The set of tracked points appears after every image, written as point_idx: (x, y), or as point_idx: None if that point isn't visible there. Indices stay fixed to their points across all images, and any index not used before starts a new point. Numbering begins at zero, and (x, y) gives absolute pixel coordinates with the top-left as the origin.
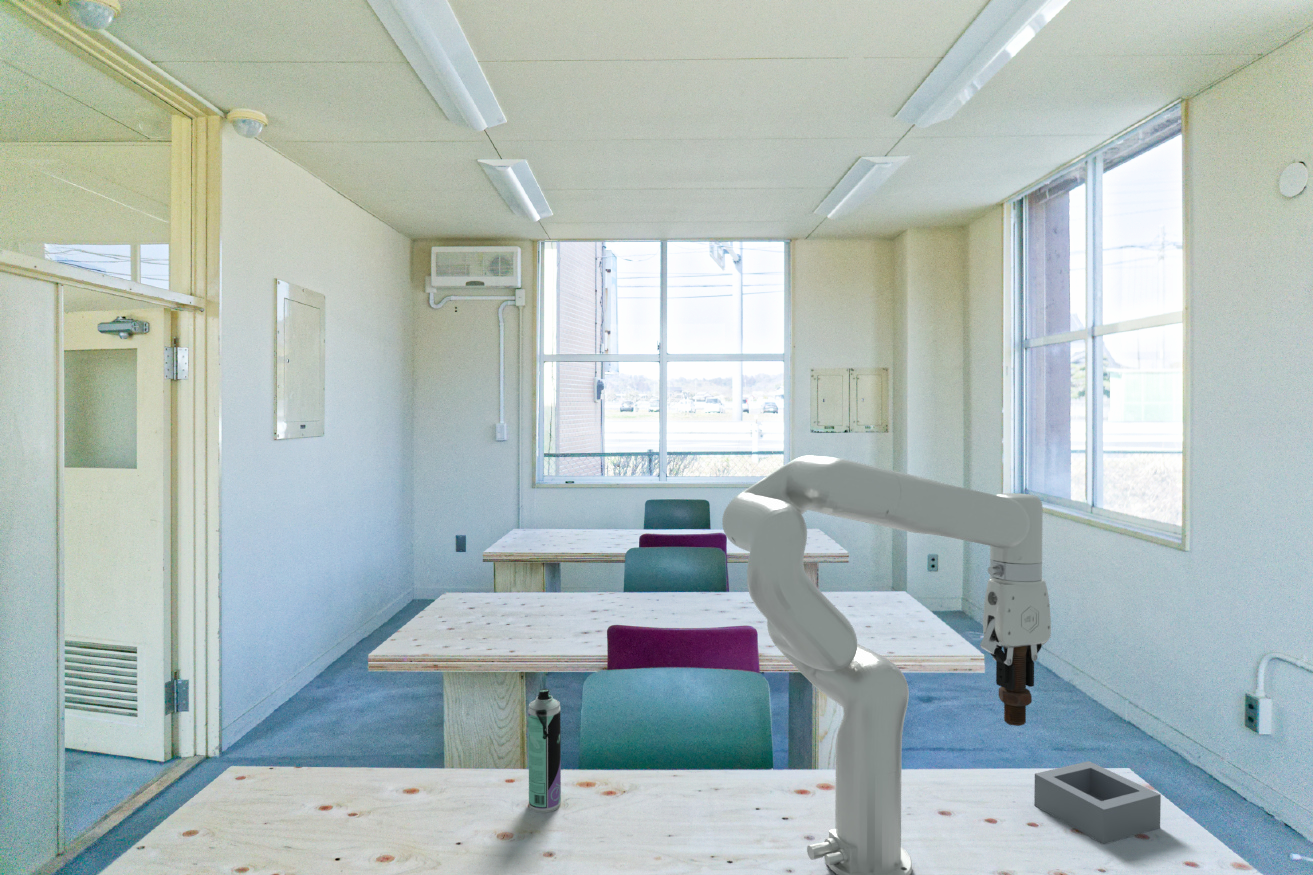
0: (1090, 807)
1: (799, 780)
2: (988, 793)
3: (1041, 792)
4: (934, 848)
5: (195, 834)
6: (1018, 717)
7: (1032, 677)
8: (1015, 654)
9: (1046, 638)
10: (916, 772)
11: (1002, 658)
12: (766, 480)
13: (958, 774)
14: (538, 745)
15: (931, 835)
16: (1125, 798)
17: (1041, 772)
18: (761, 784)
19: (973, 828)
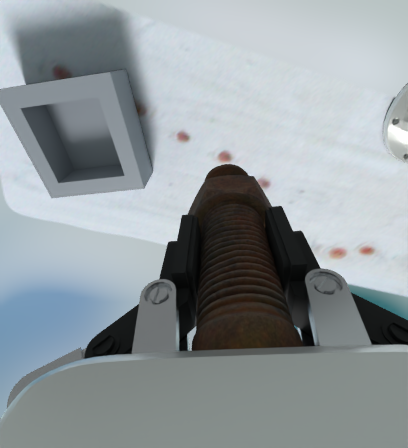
0: (119, 96)
1: (351, 266)
2: (186, 204)
3: (145, 170)
4: (335, 121)
5: None
6: (236, 173)
7: (187, 230)
8: (283, 314)
9: (64, 387)
10: None
11: (356, 304)
12: None
13: None
14: None
15: (315, 147)
16: (55, 94)
17: (133, 188)
18: (391, 268)
19: (257, 147)
